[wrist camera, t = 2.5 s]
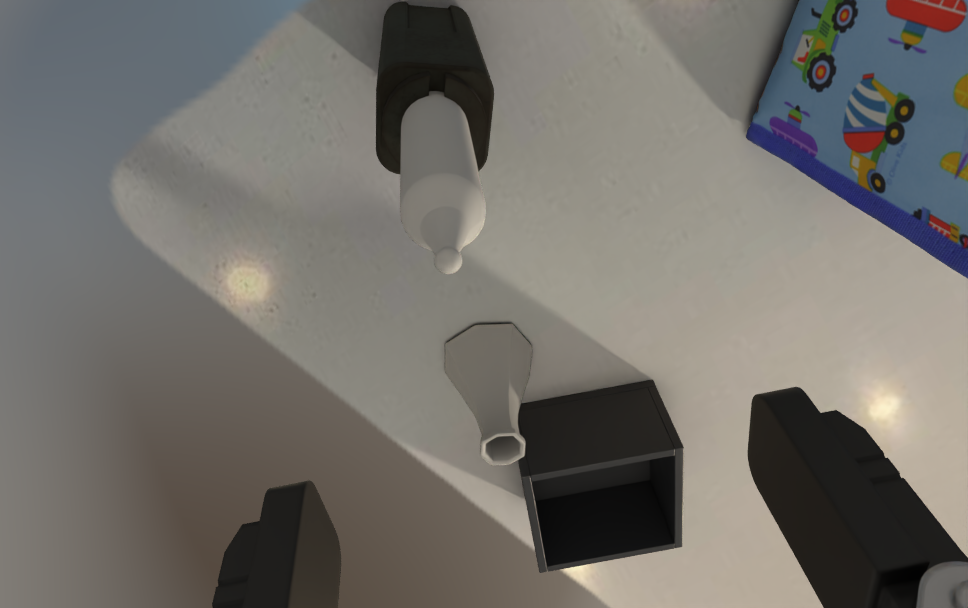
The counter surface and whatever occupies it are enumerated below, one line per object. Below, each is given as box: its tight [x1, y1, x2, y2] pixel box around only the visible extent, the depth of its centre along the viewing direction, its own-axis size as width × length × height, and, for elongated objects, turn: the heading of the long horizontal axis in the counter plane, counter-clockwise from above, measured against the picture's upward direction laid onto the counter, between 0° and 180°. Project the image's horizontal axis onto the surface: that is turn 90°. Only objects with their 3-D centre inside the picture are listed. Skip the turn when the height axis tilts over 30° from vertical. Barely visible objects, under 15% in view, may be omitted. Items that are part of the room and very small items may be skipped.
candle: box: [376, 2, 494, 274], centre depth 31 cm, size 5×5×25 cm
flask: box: [445, 324, 532, 466], centre depth 51 cm, size 7×7×10 cm
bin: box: [518, 380, 684, 573], centre depth 58 cm, size 12×12×8 cm
